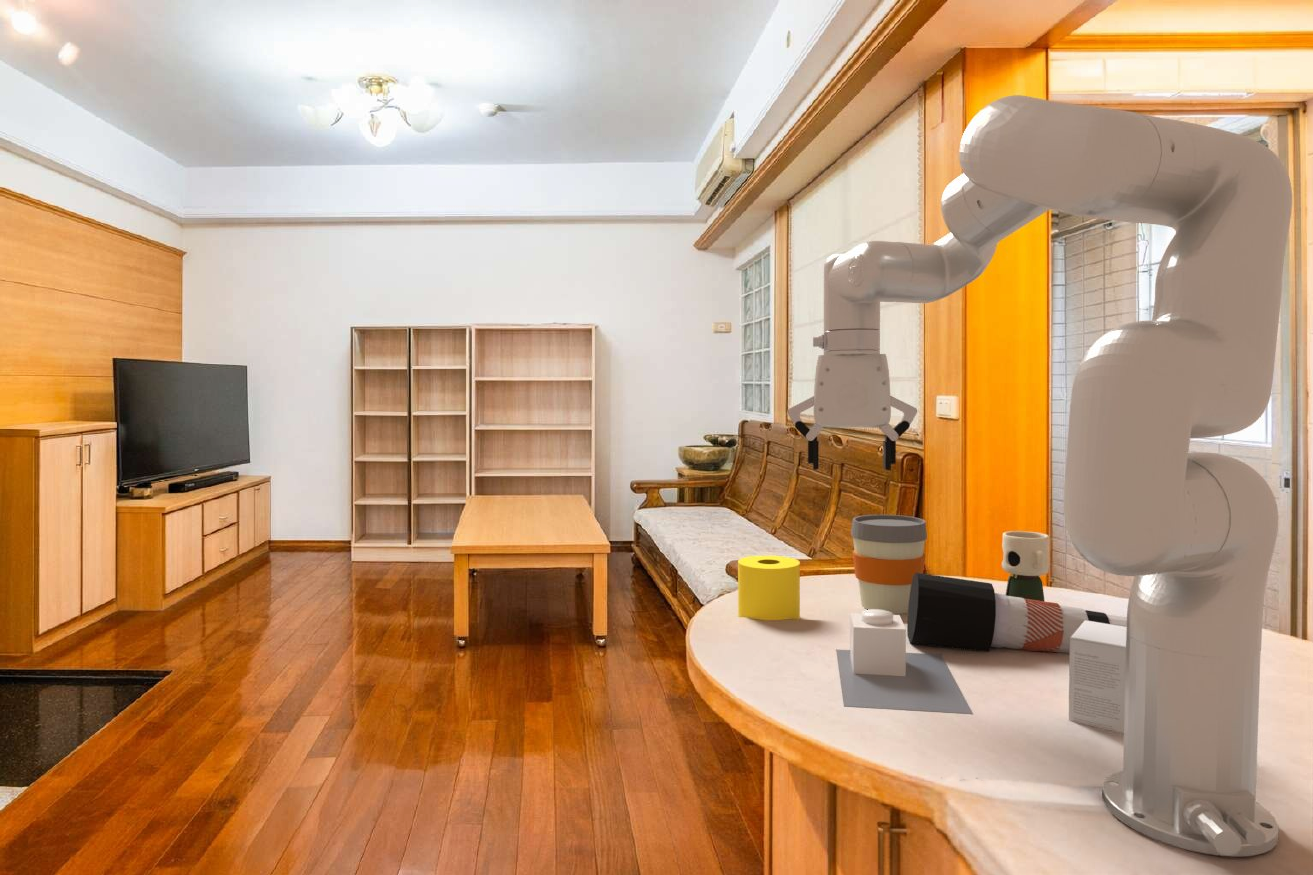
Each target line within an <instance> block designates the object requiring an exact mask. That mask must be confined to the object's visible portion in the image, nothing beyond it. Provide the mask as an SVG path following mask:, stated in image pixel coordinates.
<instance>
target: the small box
mask: <svg viewBox="0 0 1313 875" xmlns="http://www.w3.org/2000/svg"><path fill="white" fill-rule="evenodd" d="M1126 630H1127V627H1123V626H1117V625H1111V624H1105V623H1099V622H1093V621H1086V620H1085V621H1084V622H1083V623H1082V624H1081V625H1080V627H1079V628H1078V629H1077V630H1076V631H1075V632H1074V634H1073V635H1072V636H1071V637H1070V655H1069V662H1068V665H1069V668H1068V670H1069V673H1068V674H1069V675H1068V676H1069V677H1068V680H1069V681H1068V721H1070V722H1074V723H1078V724H1081V725H1086V726H1090V727H1095V728H1099V729H1103V730H1109V731H1113V732H1117V733H1123V734H1124V703H1125V659H1126Z"/></svg>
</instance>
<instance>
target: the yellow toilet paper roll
mask: <svg viewBox="0 0 1313 875" xmlns="http://www.w3.org/2000/svg"><path fill="white" fill-rule="evenodd" d="M800 564H801V562H800V560H798V559H796V558H793V557H788V556H782V555H781V556H780V555H752V556H746V557H745V556H744V557H741V558H739V559H738V561H737V581H738V582H737V586H738V587H737V591H738V592H737V594H738V595H737V597H738V598H737V601H738V602H737V603H738V604H737V607H738V609H737V612H738V613H737V614H738V616H737V617H738V618H750V619H754V620H761V621H763V620H764V621H781V620H799V619H801V618H800V617H801V614H800V612H801V608H800V606H801V605H800V604H801V596H800V595H801V591H800V590H801V588H800V586H801V585H800V584H801V582H800V580H801V575H800V574H801V572H800V571H801V568H800V567H801V565H800Z"/></svg>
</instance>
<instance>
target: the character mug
mask: <svg viewBox="0 0 1313 875" xmlns="http://www.w3.org/2000/svg"><path fill="white" fill-rule="evenodd" d="M1050 542H1051V541H1050V535H1048V534H1046V533H1042V532H1035V531H1024V530H1022V531H1021V530H1011V531H1005V532H1003V533H1002V543H1001V547H1002V552H1003V557H1002V559H1003V560H1002V561H1001V567H1002V570H1003V571H1004V572H1006V573H1009V574H1010V575H1009V576H1008V578H1007V582H1006V583H1007V585H1006V591H1005V595H1006V596H1012V597H1019V598H1024V599H1031V600H1038V601H1044V602H1046V601H1045V594H1044V586H1043V580H1042V579H1041V576H1044V575H1047V574H1049V570H1050Z"/></svg>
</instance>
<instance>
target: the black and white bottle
mask: <svg viewBox="0 0 1313 875" xmlns="http://www.w3.org/2000/svg"><path fill="white" fill-rule="evenodd" d="M1044 601H1045V600H1044ZM1044 601H1038V600H1031V599H1024V598H1019V597H1012V596H1006V593H1005V594H1003V593H1000V592H995V588H994V586H993V583H990V582H986V581H977V580H970V579H963V578H955V577H950V576H943V575H936V574H935V575H934V574H928V573H923V574H922V573H915V574H914V577H913V580H912V584H911V590H910V597H909V606H908V613H907V619H906V622H907V623H906V624H907V626H906V627H907V629H906V635H907V639H908V642H909V644H912V645H920V646H927V647H935V648H938V647H939V648H945V649H957V650H966V651H975V652H976V651H977V652H990V650H991V648H998V649H1002V648H1005V649H1006V648H1007V649H1013V650H1020V651H1027V652H1029V651H1030V652H1043V653H1044V652H1048V653H1056V654H1057V653H1065V654H1066V653H1067V654H1068V655H1069V656H1070V637H1071V636H1072V635H1073V634H1074V632H1075V631H1076V630H1077V629H1078V628H1079V627H1080V625H1081V624H1082V623H1083V622H1084V621H1085V620H1086V621H1093V622H1099V623H1105V624H1111V625H1117V626H1123V627H1127V616H1123V615H1122V616H1121V615H1116V614H1109V613H1105V612H1101V611H1095V610H1094V611H1093V610H1088V609H1084V608H1081V607H1073V606H1066V605H1060V604H1059V603H1058V602H1051V601H1045V602H1044Z"/></svg>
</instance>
